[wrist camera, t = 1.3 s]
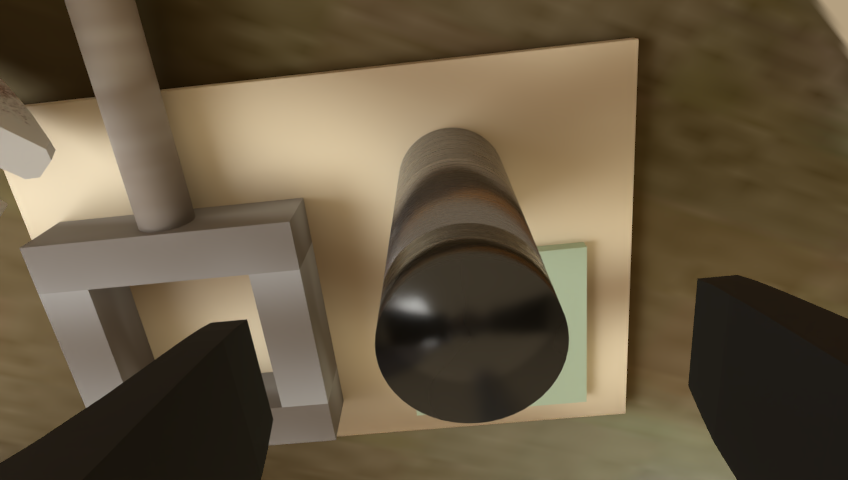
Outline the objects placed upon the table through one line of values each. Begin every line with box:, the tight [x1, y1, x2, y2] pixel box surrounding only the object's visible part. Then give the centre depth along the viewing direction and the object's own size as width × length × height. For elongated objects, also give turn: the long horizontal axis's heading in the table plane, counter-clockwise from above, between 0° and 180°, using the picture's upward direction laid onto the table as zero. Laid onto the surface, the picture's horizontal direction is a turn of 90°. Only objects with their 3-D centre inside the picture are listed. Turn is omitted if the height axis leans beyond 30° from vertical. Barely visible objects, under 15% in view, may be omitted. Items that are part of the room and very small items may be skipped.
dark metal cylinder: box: [375, 127, 569, 423], centre depth 14 cm, size 3×3×9 cm
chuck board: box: [3, 0, 639, 445], centre depth 18 cm, size 17×19×2 cm
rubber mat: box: [416, 242, 587, 416], centre depth 20 cm, size 6×6×1 cm
